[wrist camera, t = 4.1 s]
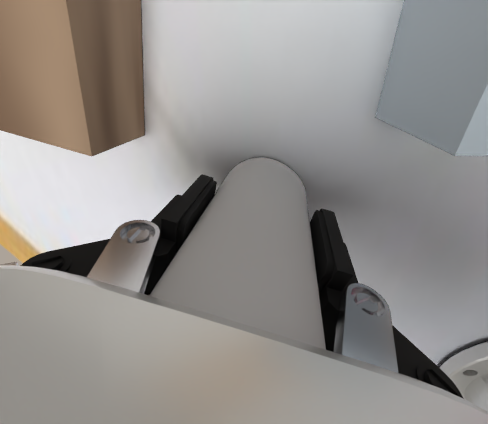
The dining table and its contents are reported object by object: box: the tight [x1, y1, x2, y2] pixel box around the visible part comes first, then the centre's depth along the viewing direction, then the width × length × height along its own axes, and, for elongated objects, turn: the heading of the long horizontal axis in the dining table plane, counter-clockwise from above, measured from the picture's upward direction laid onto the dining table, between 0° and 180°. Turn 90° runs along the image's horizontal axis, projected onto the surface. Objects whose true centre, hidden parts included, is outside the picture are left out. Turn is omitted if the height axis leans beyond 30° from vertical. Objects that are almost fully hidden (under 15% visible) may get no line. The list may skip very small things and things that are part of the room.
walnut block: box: [0, 0, 145, 156], centre depth 9 cm, size 9×9×4 cm
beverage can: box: [149, 157, 326, 350], centre depth 8 cm, size 5×5×12 cm
